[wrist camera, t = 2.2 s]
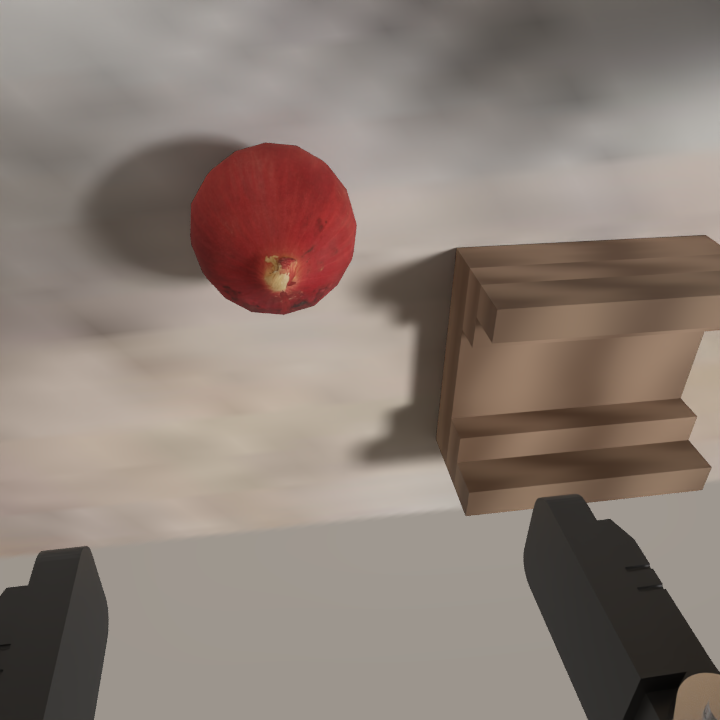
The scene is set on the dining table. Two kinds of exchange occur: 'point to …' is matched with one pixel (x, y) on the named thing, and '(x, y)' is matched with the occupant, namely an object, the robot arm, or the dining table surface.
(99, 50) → the dining table surface
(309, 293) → the pomegranate
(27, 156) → the dining table surface
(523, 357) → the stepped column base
